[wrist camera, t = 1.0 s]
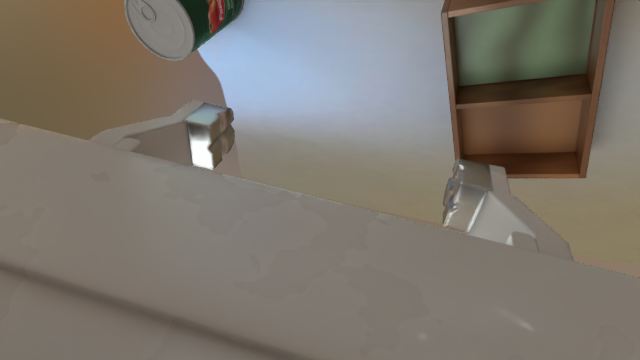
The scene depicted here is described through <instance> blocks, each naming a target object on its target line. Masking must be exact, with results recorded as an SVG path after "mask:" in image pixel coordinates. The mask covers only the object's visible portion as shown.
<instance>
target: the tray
mask: <svg viewBox="0 0 640 360" xmlns="http://www.w3.org/2000/svg"><path fill="white" fill-rule="evenodd" d="M614 3H615V0H445V2H444V5H443V8H442V11H441V19H442V30H443V40H444V50H445V60H446V70H447V80H448V91H449V101H450V111H451V121H452V131H453V142H454V152H455V162H456V160H457V159H464V160H469V161H474V162H480V163H485V164H489V165H495V166H500V167H504V168H505V170H506V175H507V178H586V173H587V167H588V161H589V155H590V149H591V143H592V137H593V131H594V125H595V119H596V113H597V107H598V100H599V94H600V88H601V82H602V76H603V70H604V64H605V58H606V52H607V46H608V40H609V34H610V28H611V22H612V16H613V9H614Z"/></svg>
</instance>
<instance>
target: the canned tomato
mask: <svg viewBox="0 0 640 360" xmlns="http://www.w3.org/2000/svg"><path fill="white" fill-rule="evenodd" d="M243 4H244V0H125V2H124V7H125V14H126V18H127V21H128V23H129V26H130V28H131V30H132V31H133V33H134V34H135V36H136V37H137V39H138V40H139V41H140V42H141V43H142V45H144V46H145V47H146V48H147V49H148V50H149V51H150V52H152V53H153V54H155V55H157V56H158V57H160V58H163V59H165V60H170V61H179V60H182V59H185V58H186V57H188V56H189V54H190V53H192V52H193V51H195V50H196V49H197V48H199V47H200V46H201V45H202V44H204V43H205V42H206V41H208V40H209V39H210V38H212V37H213V36H214V35H215V34H217V33H218V32H219V31H220V30H222V29H223V28H224V27H226V26H227V25H228V24H230V23H231V22H232V21H234V20H235V19H237V17H238V16H239V15H240V13H241V11H242V8H243Z"/></svg>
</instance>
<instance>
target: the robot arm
mask: <svg viewBox="0 0 640 360" xmlns="http://www.w3.org/2000/svg"><path fill="white" fill-rule="evenodd" d="M233 120H234V116H233V111H232V109H231V108H228V107H223V106H219V105H215V104H211V103H206V102H203V101H198V100H191V101H190V102H188V103H187V104H186V105H184V106H183V107H182V108H181V109H180V110H178V111H177V112H175V113H174V114H173V115H172V116H170V117H161V118H157V119H153V120H148V121H144V122H139V123H135V124H130V125H126V126H122V127H117V128H112V129H108V130H103V131H102V132H100V133H99V134H98V135H96V136H94V137H93V138H92V139H90V140H89V141H87V140H83V139H79V138H75V137H71V136H67V135H63V134H59V133H55V132H51V131H47V130H43V129H39V128H35V127H31V126H27V125H22V124H19V123H15V122H11V121H7V120H3V119H0V360H640V277H636V276H631V275H627V274H624V273H620V272H616V271H612V270H607V269H604V268H600V267H596V266H592V265H587V264H584V263H580V262H575V261H574V259H573V256H572V253H571V250H570V247H569V244H568V243H567V242H566V241H565V240H564V239H563V238H562V237H561V236H560V235H558V234H557V233H556V232H555V231H554V230H553V229H552V228H550V227H549V226H548V225H547V224H546V223H545V222H544V221H543V220H541V219H540V218H539V217H538V216H537V215H536V214H535V213H533V212H532V211H531V210H530V209H529V208H528V207H527V206H526V205H524V204H523V203H522V202H521V201H520V200H519V199H518V198H517V197H515V196H511V193H510V188H509V184H508V179H507V175H506V170H505V168H504V167H500V166H495V165H489V164H485V163H480V162H474V161H469V160H464V159H457V160H456V162H455V164H454V167H453V177H451V178H450V179H449V180H448V183H447V186H446V189H445V193H444V199H443V205H444V206H445V209H444V212H443V226H444V227H447V228H451V229H454V230H458V231H462V232H465V233H469V234H468V235H467V234H463V233H459V232H455V231H450V230H446V229H442V228H438V227H434V226H430V225H426V224H422V223H418V222H414V221H410V220H406V219H402V218H398V217H394V216H390V215H386V214H382V213H378V212H374V211H369V210H366V209H362V208H358V207H354V206H350V205H345V204H341V203H337V202H333V201H329V200H325V199H321V198H317V197H313V196H309V195H305V194H301V193H297V192H293V191H289V190H285V189H281V188H277V187H273V186H269V185H265V184H261V183H257V182H253V181H249V180H244V179H241V178H237V177H232V176H228V175H225V174H221V173H216V172H213V171H208V170H204V169H200V168H196V167H192V165H195V166H199V167H204V168H208V169H215V167H216V166H217V165H218V164H219V163H220V162H221V161H222V155H224V154H227V153H228V152H229V151H230V150H231V148H232V146H233V143H234V137H235V134H234V129H233V127H232V126H231V123H232V121H233Z"/></svg>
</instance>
